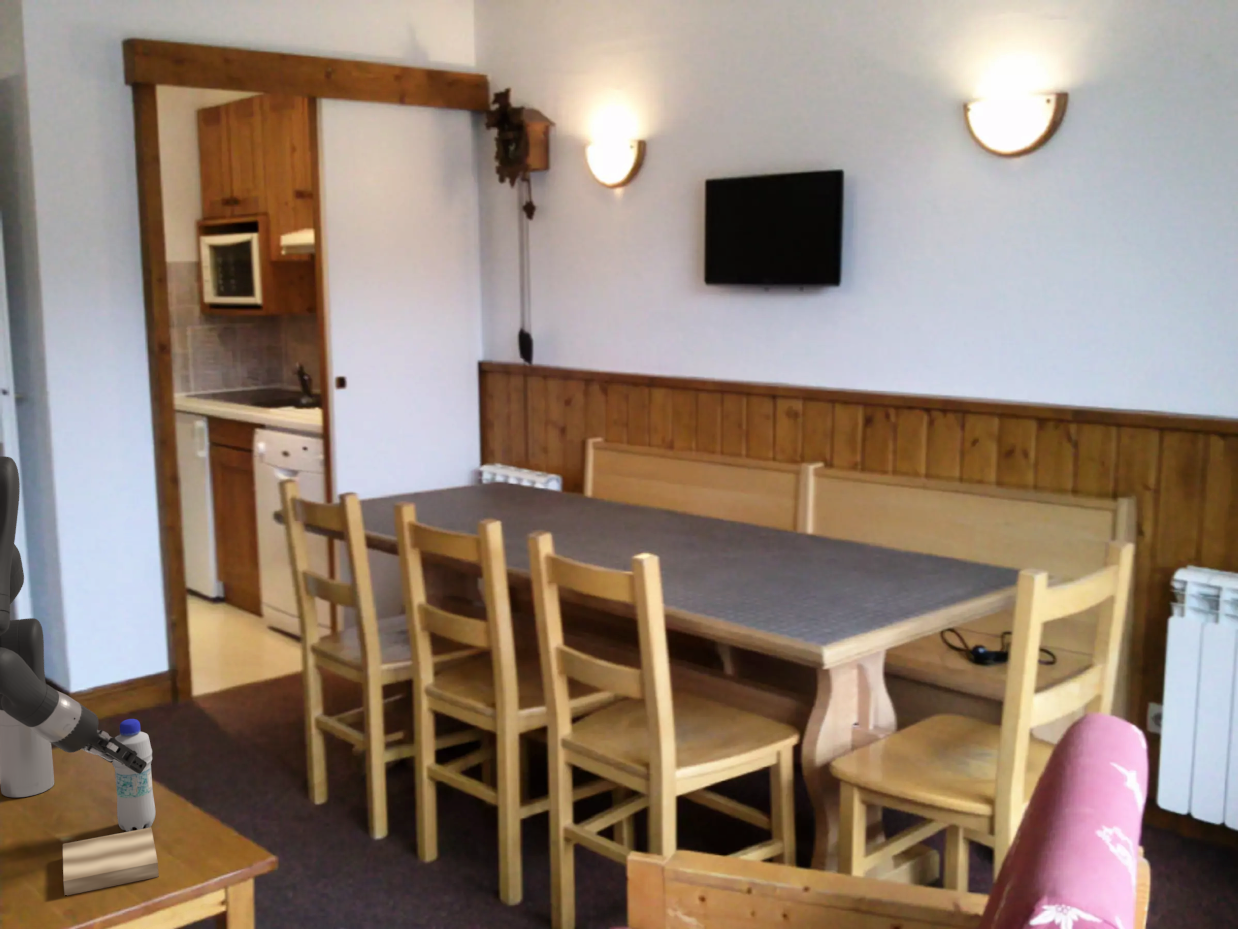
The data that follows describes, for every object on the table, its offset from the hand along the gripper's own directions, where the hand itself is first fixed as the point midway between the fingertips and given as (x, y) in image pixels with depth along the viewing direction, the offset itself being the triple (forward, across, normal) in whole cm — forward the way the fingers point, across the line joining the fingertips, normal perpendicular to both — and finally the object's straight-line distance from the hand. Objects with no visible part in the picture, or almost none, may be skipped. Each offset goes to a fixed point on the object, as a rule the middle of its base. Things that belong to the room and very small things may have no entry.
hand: (128, 763), depth 212 cm
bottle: (+9, 0, +8) cm, 13 cm away
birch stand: (+1, -10, +16) cm, 19 cm away
